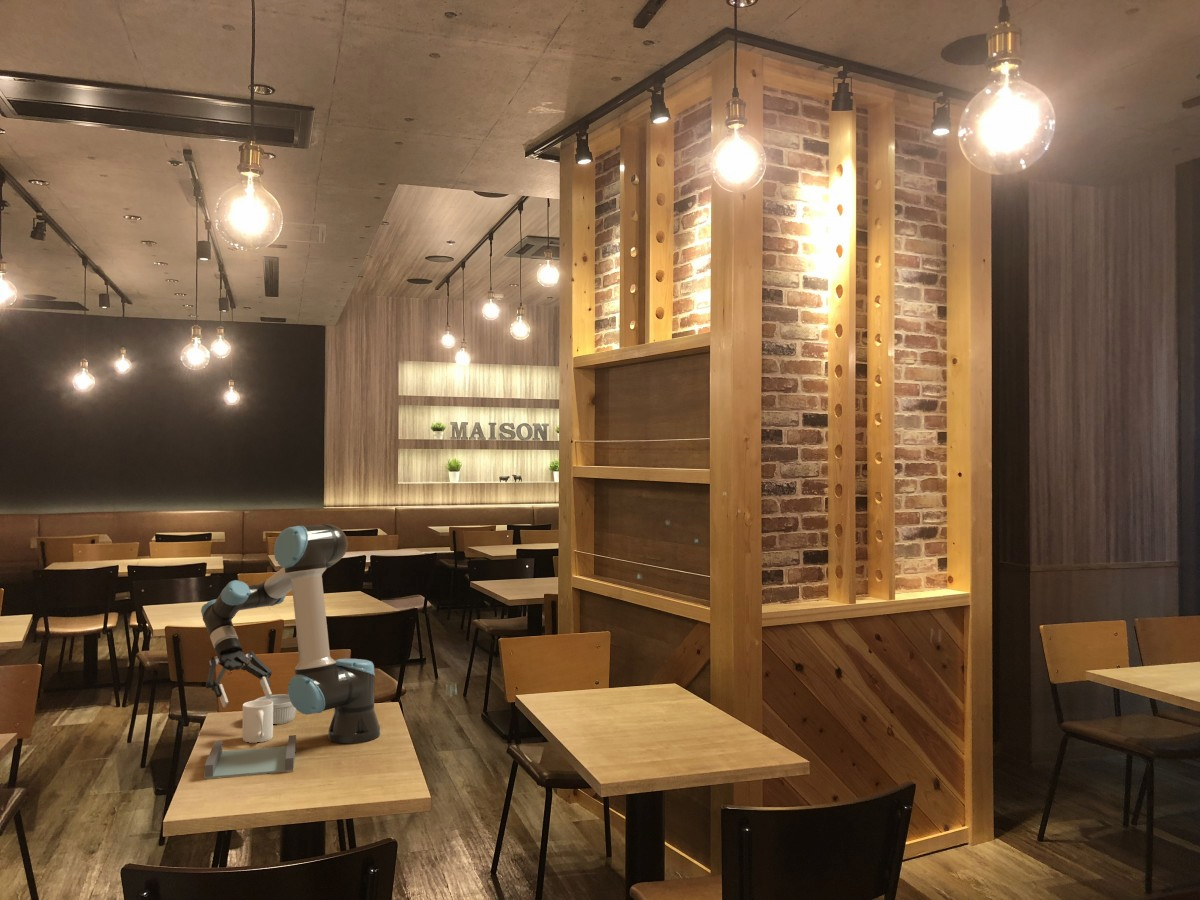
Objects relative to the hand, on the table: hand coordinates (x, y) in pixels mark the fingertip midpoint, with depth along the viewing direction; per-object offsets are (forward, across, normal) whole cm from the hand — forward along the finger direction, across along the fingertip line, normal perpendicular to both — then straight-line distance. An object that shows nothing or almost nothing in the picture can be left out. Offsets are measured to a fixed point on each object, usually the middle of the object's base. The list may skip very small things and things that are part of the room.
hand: (247, 700), depth 281 cm
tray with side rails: (+25, +10, +10) cm, 29 cm away
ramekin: (0, -14, -15) cm, 21 cm away
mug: (+12, 0, -3) cm, 13 cm away
